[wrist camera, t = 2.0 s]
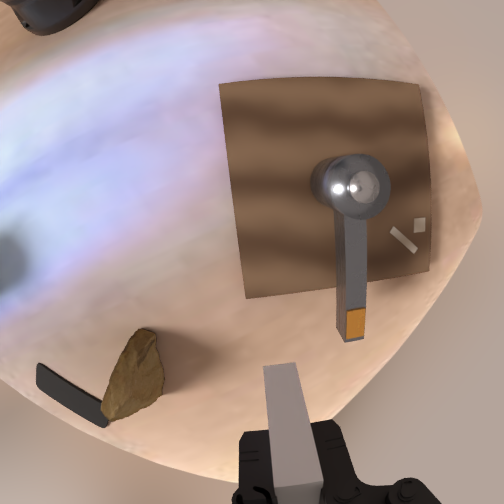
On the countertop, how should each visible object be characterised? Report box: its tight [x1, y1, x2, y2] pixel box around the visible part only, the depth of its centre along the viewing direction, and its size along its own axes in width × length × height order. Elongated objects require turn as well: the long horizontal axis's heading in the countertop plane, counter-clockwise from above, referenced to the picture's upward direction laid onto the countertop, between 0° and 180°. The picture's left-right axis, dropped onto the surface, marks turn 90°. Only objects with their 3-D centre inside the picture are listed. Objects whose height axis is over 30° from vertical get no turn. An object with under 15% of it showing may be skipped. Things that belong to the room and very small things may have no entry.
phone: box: [36, 363, 109, 428], centre depth 37 cm, size 7×1×15 cm
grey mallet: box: [310, 154, 391, 343], centre depth 25 cm, size 17×5×8 cm, turn 7°
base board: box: [219, 77, 431, 299], centre depth 28 cm, size 22×22×2 cm
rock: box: [101, 329, 165, 422], centre depth 32 cm, size 11×9×10 cm
